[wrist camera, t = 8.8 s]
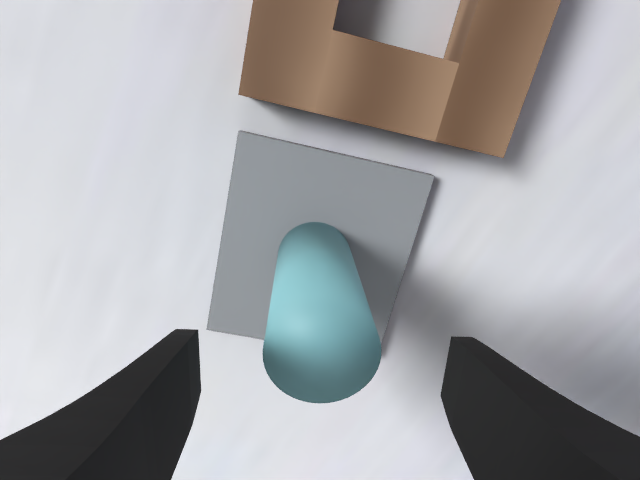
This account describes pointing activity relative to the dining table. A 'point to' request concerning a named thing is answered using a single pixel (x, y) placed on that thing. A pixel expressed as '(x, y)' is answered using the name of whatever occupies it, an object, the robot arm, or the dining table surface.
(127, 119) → the dining table surface
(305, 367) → the peg
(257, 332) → the pad
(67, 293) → the dining table surface
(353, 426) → the dining table surface
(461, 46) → the holder
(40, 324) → the dining table surface
